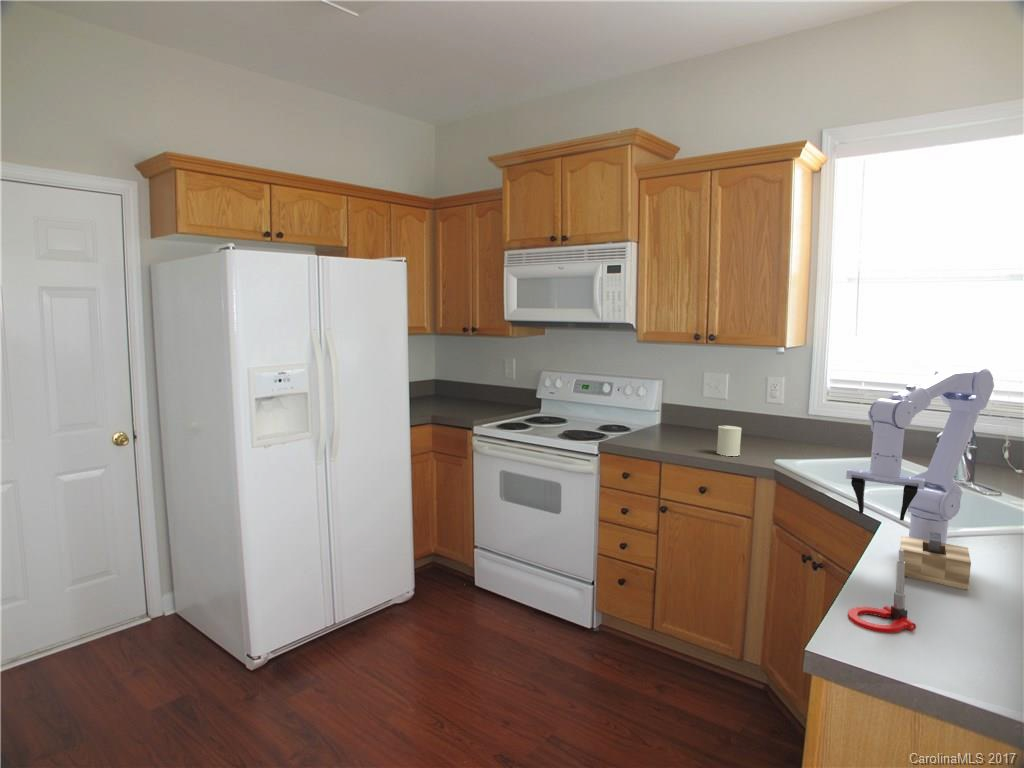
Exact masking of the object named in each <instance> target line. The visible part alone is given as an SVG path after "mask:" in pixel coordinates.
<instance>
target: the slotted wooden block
mask: <svg viewBox="0 0 1024 768" xmlns="http://www.w3.org/2000/svg"><path fill="white" fill-rule="evenodd" d="M928 542H929V541H928V540H922V539H916V538H911V537H909V536H904V535H901V536H900V544H899V545H900V546H899V549H902V550H904V562H905V576H908V577H907V578H910V579H916V580H920V581H924V582H928V583H935V584H938V583H939V584H940V585H943V584H944V585H945V586H948V585H949V586H948V587H953V588H957V589H958V588H959V589H964V590H969V585H970V577H971V566H972V562H971V556H970V552H969V547H966V546H961V545H955V544H950V543H946V544H944V543H941V548H940V554H936V553H931V552H928ZM939 584H938V585H939Z"/></svg>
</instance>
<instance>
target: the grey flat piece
mask: <svg viewBox="0 0 1024 768" xmlns="http://www.w3.org/2000/svg"><path fill="white" fill-rule="evenodd" d="M940 548H941V534H940V533H934V532H929V542H928V552H931V553H936V554H940Z"/></svg>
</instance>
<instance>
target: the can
mask: <svg viewBox="0 0 1024 768" xmlns="http://www.w3.org/2000/svg"><path fill="white" fill-rule="evenodd" d="M717 428H718V430H717V447H716V453H718V454H721V455H726V456H738V455H740V456H741V453H740V452H741V440H742V427H741V426H734V425H718V426H717Z"/></svg>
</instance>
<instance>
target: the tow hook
mask: <svg viewBox="0 0 1024 768" xmlns="http://www.w3.org/2000/svg"><path fill="white" fill-rule="evenodd" d="M895 577H896V578H895V579H896V580H895V581H896V582H895V592H894V594H893V605H890V607H889V606H888V605H884V607H882V608H877V607H871V606H856V607H851V608H850V609H849V610H848V611H847V618H848V620H849V621H850V622H851V623H853V624H854V625H856V626H858V627H859V628H862V627H863V629H865V630H869V631H873V632H877V633H882V632H883V633H887V634H891V633H892V634H894V633H899V632H901V631H903V630H908V631H910V632H912V631H915V630H916V628H917V625H916V623H915V622H913V621H911V619H908V609H907V608H906V594H905V578H906V577H905V562H904V550H902V549H900V548H899V550H898V560H897V561H896V576H895ZM865 613H867V614H865ZM860 614H862V615H872V614H876V615H875V616H878V615H880V616H879V617H881V616H882V618H891V620H893V623H890V624H879V623H874V622H873V623H872V622H870V621H867V620H864V619H862V618H861V617H860V616H861V615H860ZM858 615H859V616H858Z"/></svg>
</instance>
